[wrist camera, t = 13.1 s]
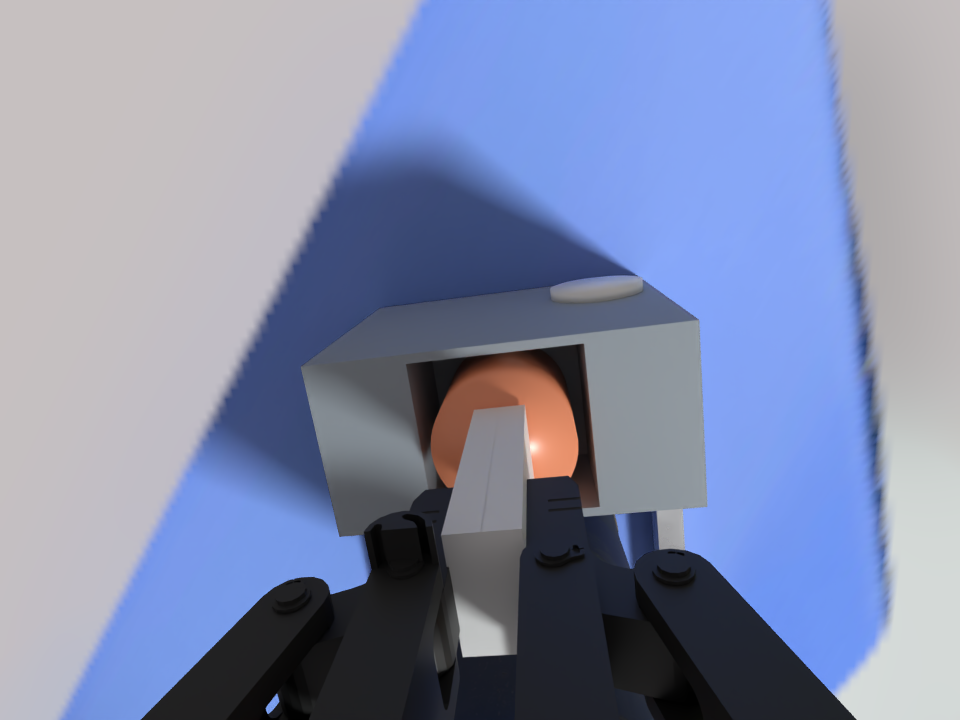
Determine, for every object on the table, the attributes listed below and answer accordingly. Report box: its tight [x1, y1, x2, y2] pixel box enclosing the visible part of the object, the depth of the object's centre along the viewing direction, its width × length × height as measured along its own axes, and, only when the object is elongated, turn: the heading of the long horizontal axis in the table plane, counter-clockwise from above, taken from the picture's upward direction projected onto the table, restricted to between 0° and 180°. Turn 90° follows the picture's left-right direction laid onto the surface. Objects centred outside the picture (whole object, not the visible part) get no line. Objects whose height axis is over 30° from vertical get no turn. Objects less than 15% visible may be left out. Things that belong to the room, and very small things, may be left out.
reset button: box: [431, 349, 578, 488], centre depth 19 cm, size 4×4×4 cm
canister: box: [454, 514, 654, 720], centre depth 21 cm, size 10×10×18 cm
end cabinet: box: [301, 275, 707, 537], centre depth 23 cm, size 12×6×10 cm, turn 98°
